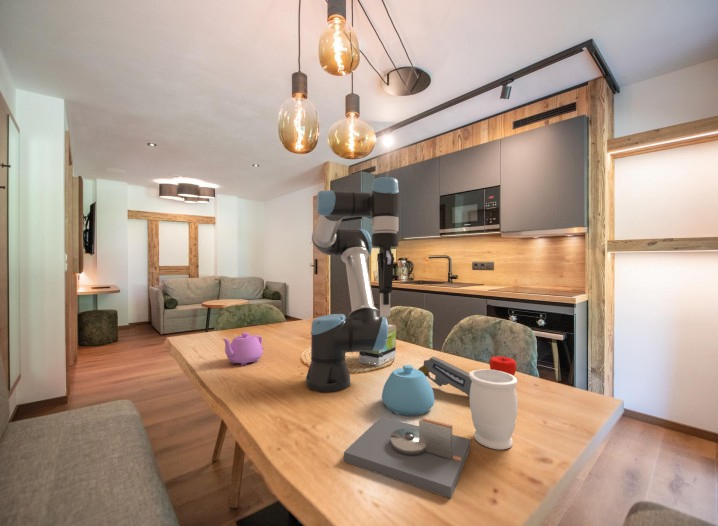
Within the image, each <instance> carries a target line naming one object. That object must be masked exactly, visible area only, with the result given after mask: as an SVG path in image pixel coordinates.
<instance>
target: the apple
mask: <svg viewBox="0 0 718 526" xmlns="http://www.w3.org/2000/svg"><path fill="white" fill-rule="evenodd" d="M489 368H490V369H489V370H497V371H502V372H506V373H509V374H511V375H513V376H515V374H516V372H517V362H516V361H515V359H513V358H510V357H507V356H493V357H490V360H489Z"/></svg>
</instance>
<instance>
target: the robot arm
mask: <svg viewBox="0 0 718 526" xmlns="http://www.w3.org/2000/svg"><path fill="white" fill-rule="evenodd" d="M399 193H400V190H399V181H398V179H397V178H395V177H390V176H384V177H383V176H380V177H377V178H375V179H373V180H372V182H371V192H362V191H361V192H360V191H359V192H358V191H341V190H331V189H330V190H319V191H318V192H317V193H316V194H317V196H316V213H317V214H318V215H319V218H318V221H317V225H316V227H315V228H314V229H313V231H312V234H311V241H312V244H313V246H314V248H316V249H317V251H319V252H321V253H322V254H324V255H327V256H333V257H335V256H336V257H340V259H341V261H342V263H344V264H345V267H346V270H345V271H346V277H347V284H348V293H349V299H350V307H351V311H350V312H349V313H348V317H346V314H344V313H331V314H324V315H321V316H318V317H315V318H314V319H313V320H312V321H311V327H310V328H311V331H310V335H311V338H310V340H311V343H310V345H311V346H310V347H311V349H310V358H311V359H310V365H309V367H308V370H307V375H306V377H305V386H306V388H307V389H309V390H312V391H315V392H323V393H330V392H332V393H333V392H337V391H338V392H339V391H342V390H344V389H346V388H349V386H350V385H351V376H350V375H351V374H350V372H349V370H348V366H347V363H346V353H359V352H364V351H371V352H372V351H376V350H382V349H383V348H384V347H385V345H386V342H387V337H388V325H389V324H388V323H389V322H388V319H387V317H391V293H392V291H393V274H394V262H395V257H394V253H392V248H396V247H398V246H399V234H398V232H399V230H400V229H399V224H400V223H399V221H400V220H399V219H400V218H399ZM344 217H355V218H356V217H357V218H358V217H359V218H367V219H370V221H369V224H370V225H372V226H371V231H372V235H371V236H370V233H369V232H368V231H367V230H366V229H362V228H339V227H340V225H341V222H342V220H343V218H344ZM373 248H379V250H378V251H379V252H378V253H377V256H376V257H377V258H376V262H377V275H378V277H377V278H378V287H377V288H378V294H379V309H378V308H376V307H375V302H374V297H373V292H372V286H371V279H370V275H369V274H370V273H369V268H368V263H367V262H368V261H367V260H368V259H369V256H370V255H371V253H372V249H373Z"/></svg>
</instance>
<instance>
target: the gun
mask: <svg viewBox="0 0 718 526" xmlns="http://www.w3.org/2000/svg"><path fill="white" fill-rule="evenodd" d="M417 370H420V371H422V372H423V373H424V375H425V376H426V378H427V379H428V380H431V381H432V382H433V383H435V385H437V386H438V387H442V386H447V385H450V386H452V388H453V387H454V388H456V389H457V390H459V391H461V392H462V393H465V394H466V395H467V396H468V397H469V396H470V387H471V383H472V380H471V379H470V372H468V371H466V370H463V369H462V368H459V367H458V366H455V365H454V364H451V363H450V362H447V361H445V360H443V359H440V358H439V357H436V356H432V357H430V358H429V359H426V360H423V365H422V366H420V367H419V368H418V369H417ZM430 373H431V374H432V375H433V376H435V377H434V378H433V377H431V375H430Z"/></svg>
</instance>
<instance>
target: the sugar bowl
mask: <svg viewBox="0 0 718 526" xmlns="http://www.w3.org/2000/svg"><path fill="white" fill-rule="evenodd" d="M381 392H382V393H381V400H382V402H383V405H384V406H385V407H386V408H387V409H388V410H389V411H391V412H392V413H395V414H398V415H401V416H412V417H414V416H420V415H424V414H426V413H428V412H429V410H431V409H432V408H433V407H434V404H435V394H434V390H433V388H432V385H431V383H430V382H429V378H428V377H426V376H425V375H424V373H423V372H422V371H420V370H418V369H416V368H414V366H413V365H411V364H405V365H402V367H399V368H396V369H394V370H392V371H391V373H390V375H389V376H388V378H387V379H386V381H385V383H384V385H383V388H382V391H381Z"/></svg>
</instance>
